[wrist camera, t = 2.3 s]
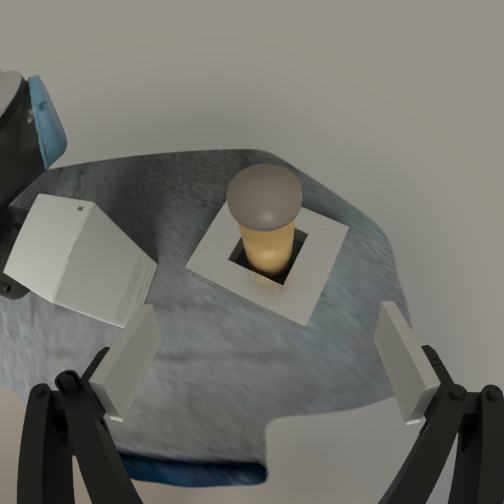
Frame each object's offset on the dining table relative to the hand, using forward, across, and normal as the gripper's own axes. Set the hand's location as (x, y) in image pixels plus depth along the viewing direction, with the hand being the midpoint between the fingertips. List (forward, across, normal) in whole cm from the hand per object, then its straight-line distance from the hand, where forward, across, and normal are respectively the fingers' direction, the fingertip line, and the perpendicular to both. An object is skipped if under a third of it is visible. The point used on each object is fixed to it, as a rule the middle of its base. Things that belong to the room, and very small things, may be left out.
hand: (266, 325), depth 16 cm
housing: (+18, 0, -3) cm, 18 cm away
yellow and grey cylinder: (+18, 0, -3) cm, 18 cm away
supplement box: (+15, -19, -6) cm, 25 cm away
